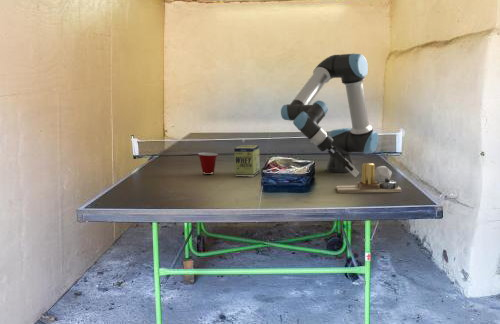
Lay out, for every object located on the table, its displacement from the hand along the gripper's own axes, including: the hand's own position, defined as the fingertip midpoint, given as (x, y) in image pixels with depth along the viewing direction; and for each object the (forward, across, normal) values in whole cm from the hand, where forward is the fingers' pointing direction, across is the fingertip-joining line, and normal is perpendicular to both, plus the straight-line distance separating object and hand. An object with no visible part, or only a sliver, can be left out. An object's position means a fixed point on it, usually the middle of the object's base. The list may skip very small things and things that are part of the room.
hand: (355, 172), depth 245 cm
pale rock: (+17, -18, +5) cm, 25 cm away
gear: (+15, 0, +5) cm, 16 cm away
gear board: (+10, 0, -2) cm, 10 cm away
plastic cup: (-46, -50, -59) cm, 90 cm away
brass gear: (+9, 0, -1) cm, 9 cm away
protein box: (-30, -46, -43) cm, 70 cm away
